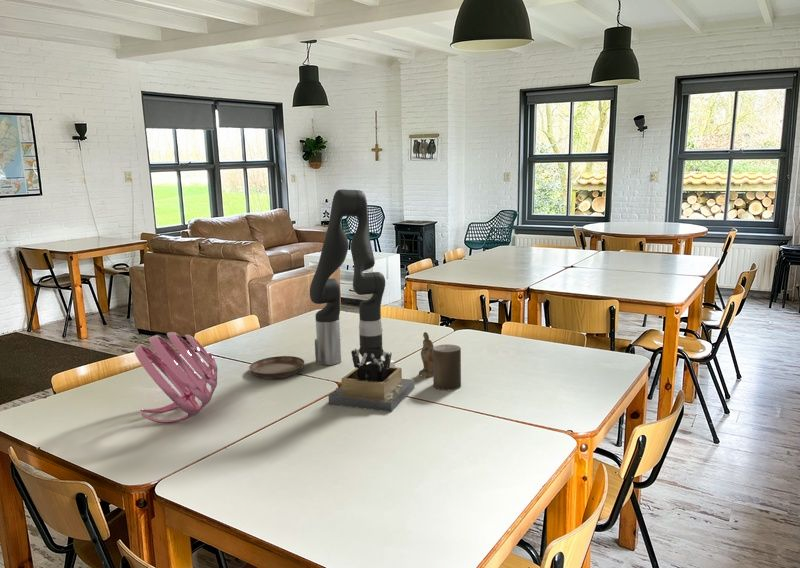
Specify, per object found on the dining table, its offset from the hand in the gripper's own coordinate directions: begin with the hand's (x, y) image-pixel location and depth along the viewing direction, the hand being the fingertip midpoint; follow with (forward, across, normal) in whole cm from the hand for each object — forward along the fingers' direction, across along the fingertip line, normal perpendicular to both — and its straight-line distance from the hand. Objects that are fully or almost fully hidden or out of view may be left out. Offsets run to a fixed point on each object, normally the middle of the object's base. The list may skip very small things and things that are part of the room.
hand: (372, 380), depth 212 cm
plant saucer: (+6, -45, +13) cm, 47 cm away
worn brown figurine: (+6, +12, +29) cm, 32 cm away
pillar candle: (+6, +21, +17) cm, 28 cm away
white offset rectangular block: (+6, -7, +20) cm, 22 cm away
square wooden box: (+5, 0, 0) cm, 5 cm away
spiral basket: (+6, -52, -33) cm, 62 cm away
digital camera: (+1, 0, 0) cm, 1 cm away
